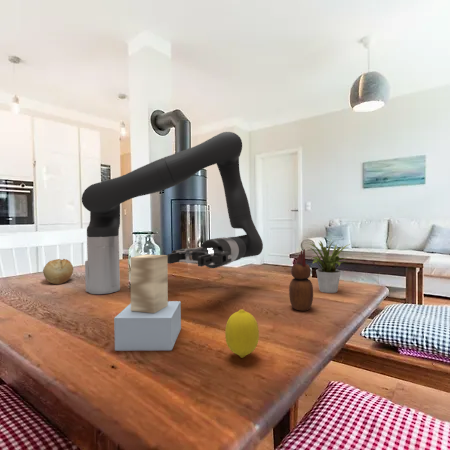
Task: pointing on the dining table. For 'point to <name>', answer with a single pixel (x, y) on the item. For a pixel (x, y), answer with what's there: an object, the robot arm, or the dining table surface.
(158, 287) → the birch block
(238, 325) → the lemon
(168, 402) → the dining table surface
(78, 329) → the dining table surface
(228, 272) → the dining table surface
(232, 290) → the dining table surface
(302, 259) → the wooden figurine
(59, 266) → the bread roll
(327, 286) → the house plant
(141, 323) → the slate block
